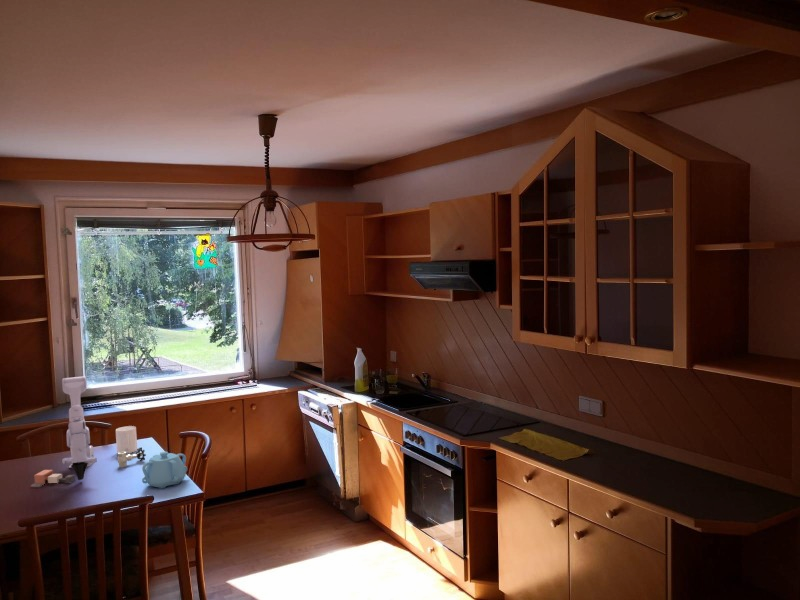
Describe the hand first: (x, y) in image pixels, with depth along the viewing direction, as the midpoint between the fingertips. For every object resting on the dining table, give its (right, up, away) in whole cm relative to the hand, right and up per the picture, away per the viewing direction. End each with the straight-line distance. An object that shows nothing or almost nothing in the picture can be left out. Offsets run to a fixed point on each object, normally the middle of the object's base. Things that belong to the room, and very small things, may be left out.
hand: (80, 479), depth 287 cm
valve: (+12, 0, +23) cm, 26 cm away
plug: (-9, -1, +1) cm, 9 cm away
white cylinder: (+3, +2, +43) cm, 44 cm away
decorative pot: (+39, 0, -7) cm, 40 cm away
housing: (-17, -2, +1) cm, 17 cm away
